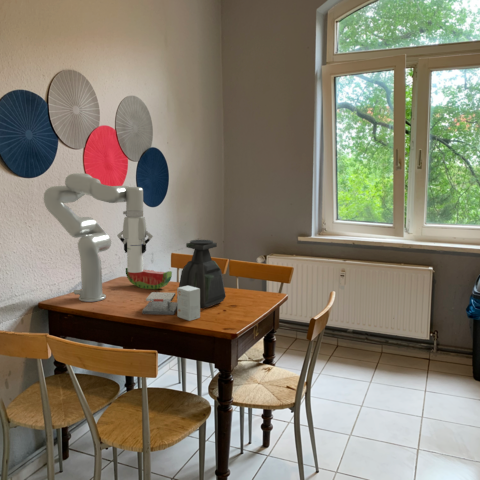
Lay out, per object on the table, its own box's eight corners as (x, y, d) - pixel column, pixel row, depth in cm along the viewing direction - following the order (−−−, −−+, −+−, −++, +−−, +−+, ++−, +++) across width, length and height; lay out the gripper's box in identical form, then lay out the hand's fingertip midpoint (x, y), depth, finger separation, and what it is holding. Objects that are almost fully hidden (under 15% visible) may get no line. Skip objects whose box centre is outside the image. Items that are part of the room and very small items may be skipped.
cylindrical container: (139, 273, 208) (138, 218, 204) (124, 272, 210) (124, 217, 206) (145, 269, 215) (145, 217, 211) (131, 268, 217) (130, 216, 213)
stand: (142, 313, 201) (141, 299, 200) (149, 304, 214) (149, 291, 214) (173, 314, 200) (173, 300, 199) (179, 305, 214) (179, 291, 213)
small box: (200, 317, 197) (200, 288, 195) (189, 321, 192) (189, 291, 190) (188, 313, 202) (188, 285, 200) (176, 316, 197) (176, 287, 195)
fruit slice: (172, 289, 243) (172, 271, 241) (165, 292, 237) (165, 273, 236) (132, 283, 254) (131, 266, 252) (125, 286, 248) (124, 268, 246)
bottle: (226, 302, 219) (227, 241, 215) (205, 311, 206) (205, 245, 201) (198, 296, 229) (197, 237, 225) (175, 304, 216) (175, 241, 211)
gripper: (113, 214, 205) (113, 253, 208) (151, 215, 204) (151, 254, 207) (118, 212, 212) (118, 250, 215) (155, 214, 212) (155, 251, 215)
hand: (135, 252), depth 211 cm, fingers closed on cylindrical container, 7 cm apart
